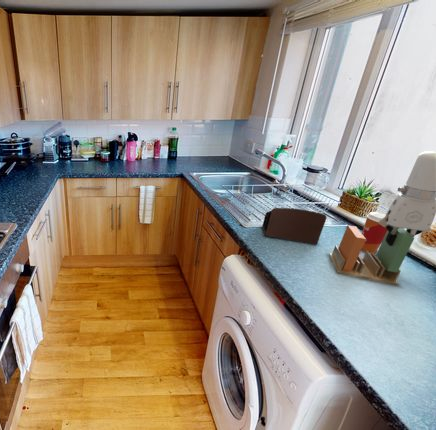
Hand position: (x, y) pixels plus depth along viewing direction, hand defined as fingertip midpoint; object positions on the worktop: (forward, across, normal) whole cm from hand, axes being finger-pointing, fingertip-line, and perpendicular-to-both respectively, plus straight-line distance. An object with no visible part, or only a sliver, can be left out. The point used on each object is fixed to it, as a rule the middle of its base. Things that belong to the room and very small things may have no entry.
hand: (395, 244), depth 96 cm
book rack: (+12, -6, 0) cm, 13 cm away
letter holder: (+11, -27, +18) cm, 35 cm away
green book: (+8, 0, 0) cm, 8 cm away
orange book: (+11, -12, 0) cm, 16 cm away
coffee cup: (+12, +1, +18) cm, 22 cm away
